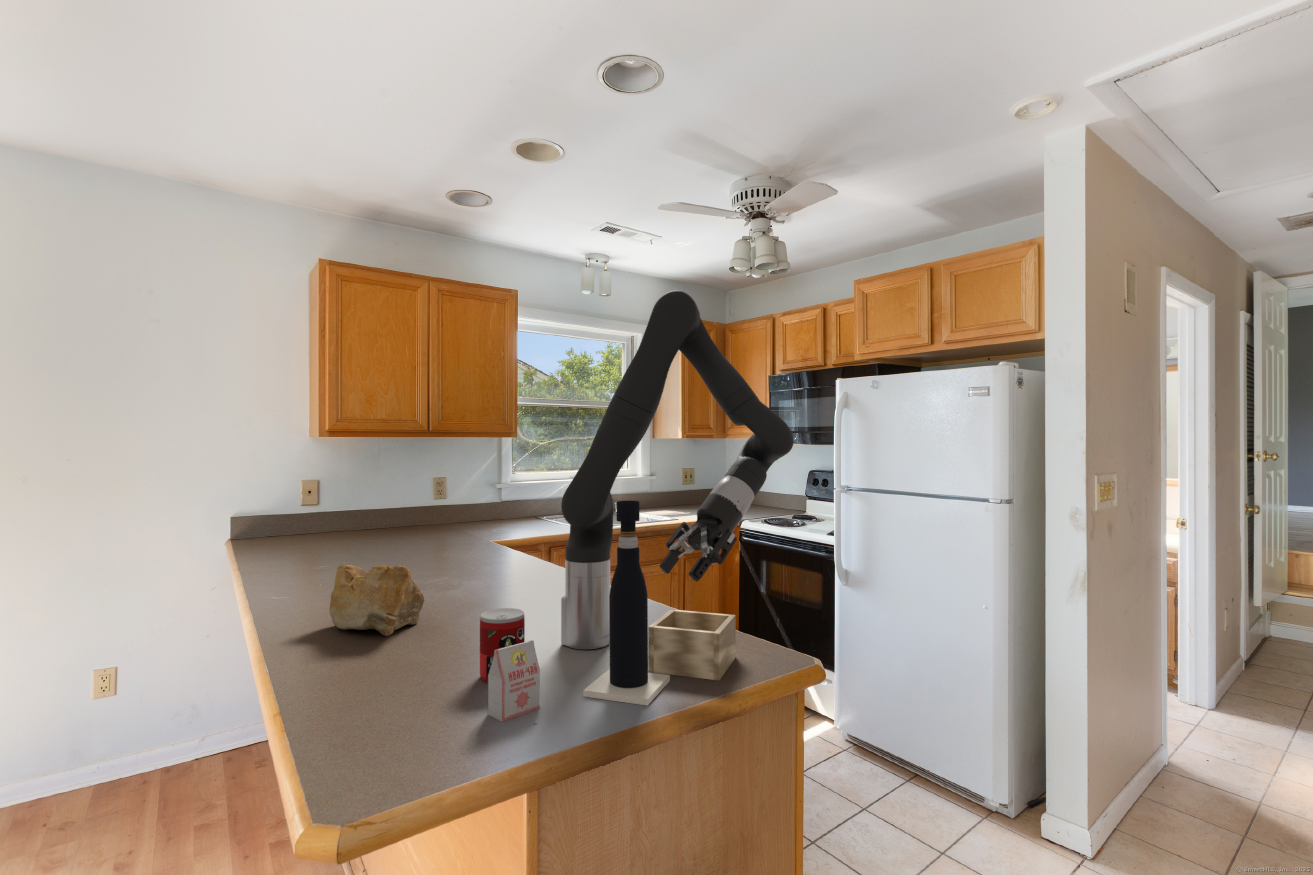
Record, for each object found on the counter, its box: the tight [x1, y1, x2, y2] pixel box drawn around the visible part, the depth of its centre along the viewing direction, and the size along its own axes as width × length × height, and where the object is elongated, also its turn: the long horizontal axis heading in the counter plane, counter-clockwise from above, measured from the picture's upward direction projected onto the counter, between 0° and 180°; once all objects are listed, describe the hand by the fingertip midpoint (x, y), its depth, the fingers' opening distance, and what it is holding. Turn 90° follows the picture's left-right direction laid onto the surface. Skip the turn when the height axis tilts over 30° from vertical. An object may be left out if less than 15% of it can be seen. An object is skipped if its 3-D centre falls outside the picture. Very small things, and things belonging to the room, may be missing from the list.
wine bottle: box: [609, 500, 649, 688], centre depth 106 cm, size 6×6×30 cm
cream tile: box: [583, 668, 671, 707], centre depth 105 cm, size 11×11×1 cm
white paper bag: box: [487, 640, 541, 722], centre depth 96 cm, size 4×7×10 cm, turn 137°
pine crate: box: [648, 609, 737, 681], centre depth 117 cm, size 13×13×8 cm
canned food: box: [479, 607, 526, 684], centre depth 111 cm, size 8×8×11 cm
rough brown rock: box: [329, 564, 425, 637], centre depth 142 cm, size 23×17×15 cm
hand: (677, 574), depth 111 cm, fingers open, 8 cm apart
